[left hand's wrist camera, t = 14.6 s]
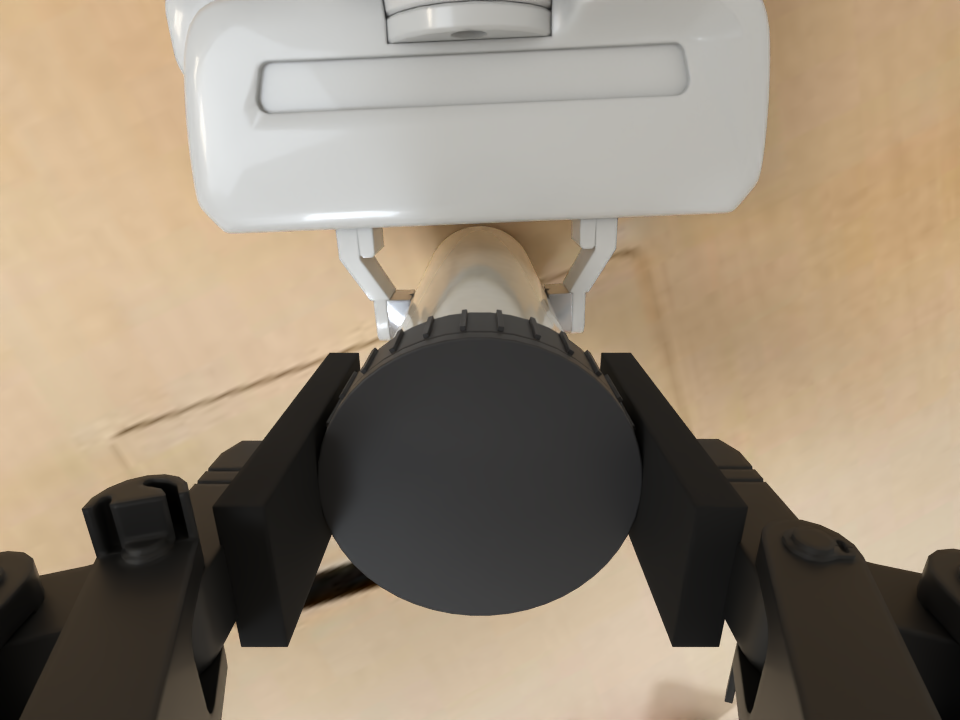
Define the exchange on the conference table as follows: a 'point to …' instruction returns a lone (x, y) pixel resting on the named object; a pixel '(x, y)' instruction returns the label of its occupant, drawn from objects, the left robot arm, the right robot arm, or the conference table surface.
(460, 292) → the jar
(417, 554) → the lid
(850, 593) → the left robot arm
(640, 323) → the conference table surface
